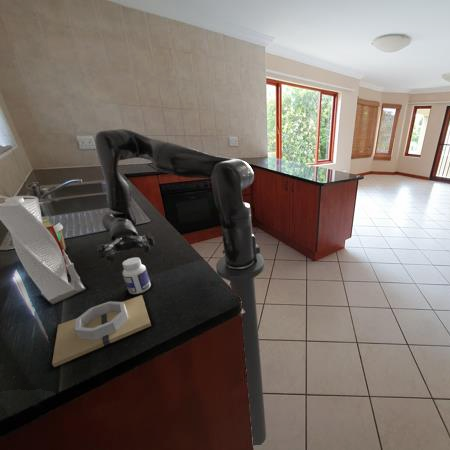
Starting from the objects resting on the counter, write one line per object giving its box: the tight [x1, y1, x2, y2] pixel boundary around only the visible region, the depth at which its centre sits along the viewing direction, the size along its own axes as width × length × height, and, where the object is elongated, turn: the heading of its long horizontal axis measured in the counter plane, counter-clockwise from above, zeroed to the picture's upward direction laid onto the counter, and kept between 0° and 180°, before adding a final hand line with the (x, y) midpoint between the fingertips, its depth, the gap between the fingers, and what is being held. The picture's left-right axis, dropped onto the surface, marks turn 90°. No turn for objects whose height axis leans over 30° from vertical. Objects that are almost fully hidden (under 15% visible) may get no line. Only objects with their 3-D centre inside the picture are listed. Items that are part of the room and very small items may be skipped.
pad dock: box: [51, 294, 152, 368], centre depth 53 cm, size 16×12×4 cm
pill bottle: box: [121, 257, 152, 295], centre depth 64 cm, size 5×5×9 cm
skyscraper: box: [0, 195, 87, 305], centre depth 58 cm, size 8×8×28 cm
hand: (129, 253), depth 69 cm, fingers open, 8 cm apart
